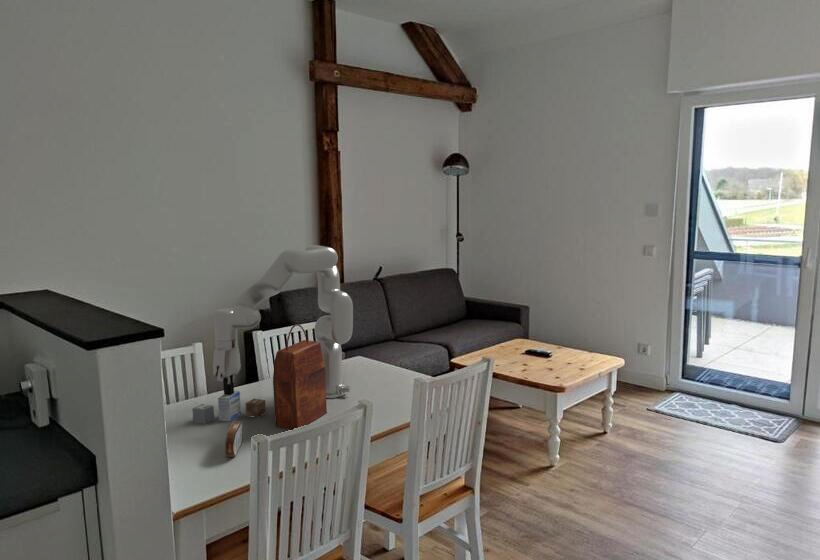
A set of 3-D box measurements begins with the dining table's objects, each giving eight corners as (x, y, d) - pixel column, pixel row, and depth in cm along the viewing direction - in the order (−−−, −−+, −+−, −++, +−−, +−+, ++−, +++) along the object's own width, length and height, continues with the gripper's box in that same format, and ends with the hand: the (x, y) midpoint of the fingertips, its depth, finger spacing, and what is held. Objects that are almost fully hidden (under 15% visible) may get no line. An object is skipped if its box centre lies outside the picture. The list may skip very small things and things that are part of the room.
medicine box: (230, 422, 206) (229, 398, 205) (218, 421, 207) (217, 397, 206) (241, 413, 214) (240, 391, 213) (230, 413, 215) (228, 390, 214)
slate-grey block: (214, 419, 209) (213, 405, 209) (204, 424, 205) (204, 409, 204) (202, 417, 211) (202, 403, 210) (193, 422, 206) (192, 408, 206)
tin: (235, 441, 190) (233, 416, 189) (245, 441, 190) (243, 416, 189) (224, 462, 175) (223, 435, 174) (235, 461, 176) (234, 434, 174)
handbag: (272, 427, 202) (267, 328, 197) (305, 407, 220) (301, 316, 214) (297, 432, 198) (292, 331, 192) (329, 412, 215) (325, 319, 210)
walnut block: (265, 413, 215) (265, 399, 214) (257, 417, 210) (257, 404, 210) (254, 411, 217) (253, 398, 216) (246, 416, 212) (245, 402, 211)
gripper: (230, 338, 215) (233, 386, 218) (203, 347, 201) (206, 399, 204) (248, 339, 213) (250, 388, 215) (222, 349, 199) (224, 401, 201)
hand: (229, 393), depth 209 cm, fingers closed
